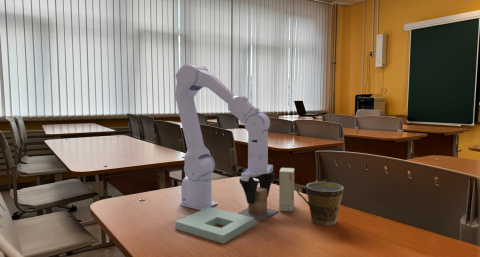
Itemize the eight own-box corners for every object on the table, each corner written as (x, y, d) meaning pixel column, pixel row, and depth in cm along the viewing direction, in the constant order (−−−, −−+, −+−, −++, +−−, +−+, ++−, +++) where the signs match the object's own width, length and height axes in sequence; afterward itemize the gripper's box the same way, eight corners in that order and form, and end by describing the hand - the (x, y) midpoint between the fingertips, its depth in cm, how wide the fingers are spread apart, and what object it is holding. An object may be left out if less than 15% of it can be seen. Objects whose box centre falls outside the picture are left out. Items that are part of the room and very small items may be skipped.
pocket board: (175, 228, 90) (175, 221, 90) (209, 213, 102) (209, 206, 102) (223, 243, 81) (223, 235, 81) (254, 224, 93) (254, 217, 93)
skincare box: (293, 212, 103) (293, 172, 101) (278, 211, 103) (279, 171, 102) (294, 205, 109) (294, 167, 108) (280, 204, 110) (280, 167, 108)
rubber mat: (236, 214, 101) (236, 213, 100) (253, 206, 108) (253, 205, 108) (262, 221, 95) (263, 219, 95) (278, 212, 103) (278, 210, 103)
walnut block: (248, 212, 101) (248, 189, 100) (255, 209, 104) (255, 186, 104) (260, 215, 99) (260, 191, 98) (267, 211, 102) (267, 188, 101)
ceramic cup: (345, 218, 97) (346, 184, 96) (338, 231, 89) (339, 193, 88) (301, 211, 104) (302, 178, 102) (290, 222, 95) (291, 187, 94)
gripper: (256, 159, 92) (256, 209, 93) (281, 152, 103) (281, 195, 105) (234, 157, 96) (235, 204, 97) (261, 149, 107) (261, 192, 109)
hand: (257, 199), depth 101 cm, fingers open, 7 cm apart
